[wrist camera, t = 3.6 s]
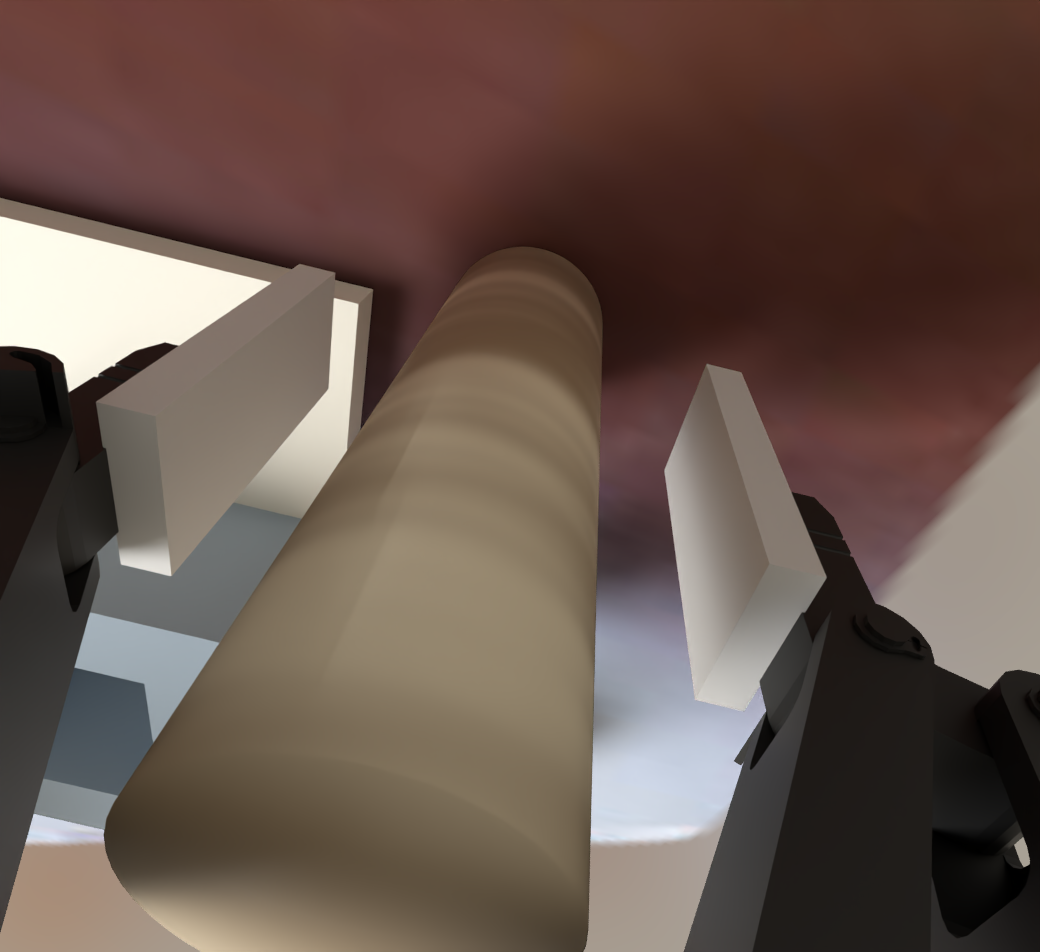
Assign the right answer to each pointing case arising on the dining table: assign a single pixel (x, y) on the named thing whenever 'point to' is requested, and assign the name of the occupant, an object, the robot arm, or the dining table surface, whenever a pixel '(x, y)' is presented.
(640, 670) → the dining table surface
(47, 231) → the socket board
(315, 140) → the dining table surface
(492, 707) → the long dowel
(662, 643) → the dining table surface
